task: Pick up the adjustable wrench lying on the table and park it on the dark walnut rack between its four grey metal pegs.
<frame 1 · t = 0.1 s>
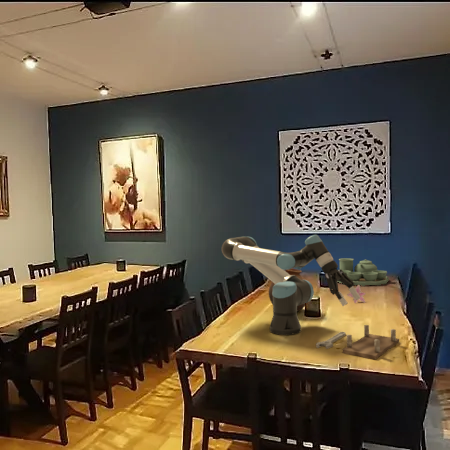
hand: (352, 301, 217), 15 cm above the table, tool tilted 35°, fingers open, 13 cm apart
lily: (356, 302, 285), on the table
rack: (371, 347, 197), on the table
tea set: (361, 282, 353), on the table
adjustable wrench: (334, 342, 207), on the table
pottery: (290, 311, 265), on the table
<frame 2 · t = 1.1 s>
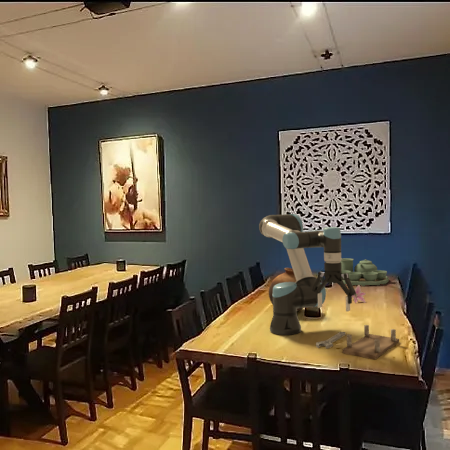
hand: (333, 309, 207), 15 cm above the table, tool pointing down, fingers open, 13 cm apart
nothing on the table moved.
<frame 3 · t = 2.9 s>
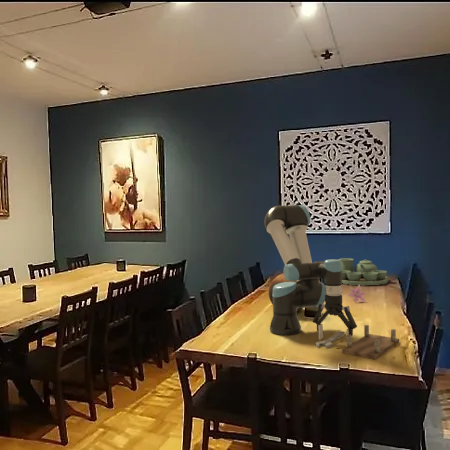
hand: (334, 341, 207), 0 cm above the table, tool pointing down, fingers open, 13 cm apart
nothing on the table moved.
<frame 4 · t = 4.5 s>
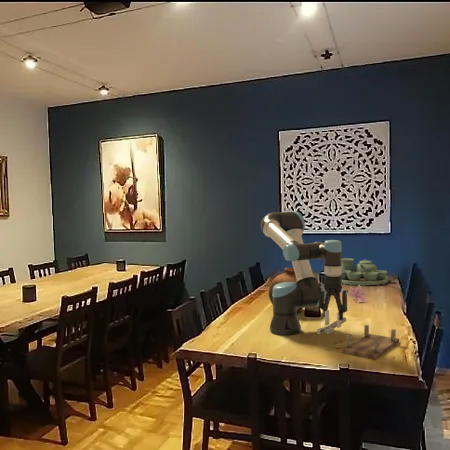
hand: (333, 325, 208), 7 cm above the table, tool pointing down, fingers closed on adjustable wrench, 5 cm apart
adjustable wrench: (335, 328, 208), point 6 cm above the table, touching gripper
everything else where it was.
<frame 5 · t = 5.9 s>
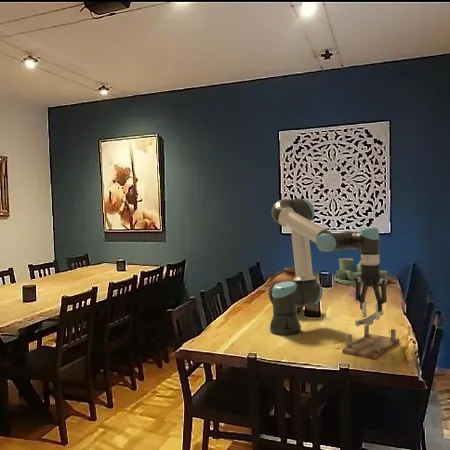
hand: (371, 318, 196), 13 cm above the table, tool pointing down, fingers closed on adjustable wrench, 5 cm apart
adjustable wrench: (373, 320, 197), point 12 cm above the table, touching gripper
everything else where it was.
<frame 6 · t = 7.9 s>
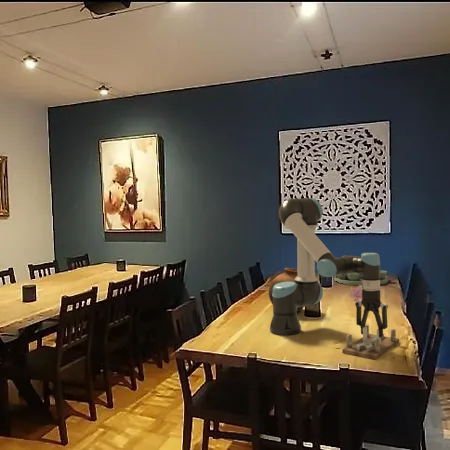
hand: (372, 343, 197), 2 cm above the table, tool pointing down, fingers closed on adjustable wrench, 5 cm apart
adjustable wrench: (373, 344, 197), point 1 cm above the table, touching gripper, rack
everything else where it was.
when the fingers open (2 cm above the table, at t = 8.2 s): adjustable wrench stays where it is, resting on rack.
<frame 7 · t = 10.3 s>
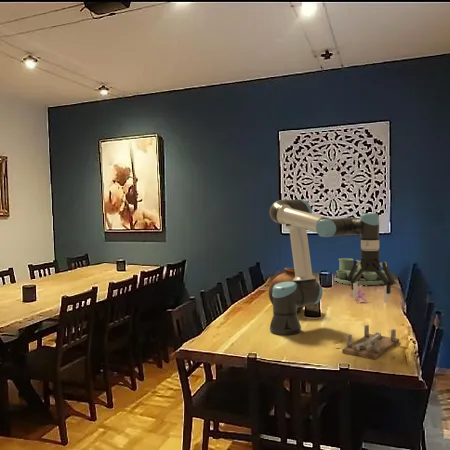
hand: (370, 299, 196), 21 cm above the table, tool pointing down, fingers open, 13 cm apart
adjustable wrench: (371, 344, 198), point 1 cm above the table, touching rack
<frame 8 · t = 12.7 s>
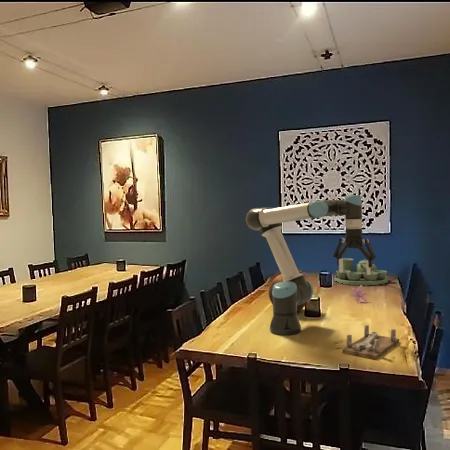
hand: (354, 273, 216), 29 cm above the table, tool pointing down, fingers open, 13 cm apart
at the end: adjustable wrench inside the target area on the rack (1.2 cm from its centre), point 1.3 cm above the rack's base; the gripper is holding nothing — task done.
